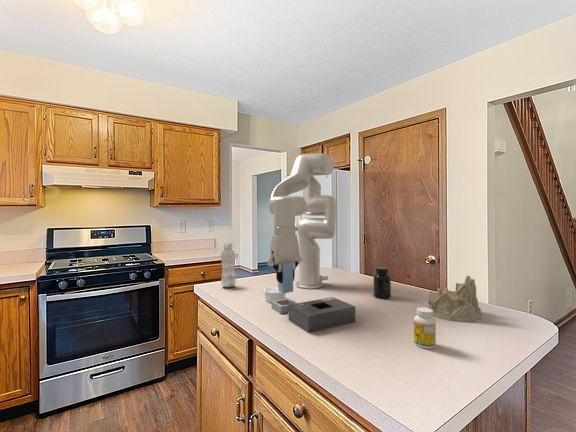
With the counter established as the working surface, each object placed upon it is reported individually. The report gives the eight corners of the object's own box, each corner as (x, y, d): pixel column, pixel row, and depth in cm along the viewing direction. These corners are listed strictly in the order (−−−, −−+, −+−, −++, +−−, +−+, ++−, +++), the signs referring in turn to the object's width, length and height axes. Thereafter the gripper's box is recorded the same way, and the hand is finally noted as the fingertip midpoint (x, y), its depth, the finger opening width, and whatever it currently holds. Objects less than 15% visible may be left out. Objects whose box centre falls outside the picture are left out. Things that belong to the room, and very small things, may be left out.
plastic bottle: (234, 288, 142) (234, 244, 141) (219, 288, 142) (219, 244, 142) (237, 285, 148) (236, 243, 148) (222, 285, 149) (222, 243, 148)
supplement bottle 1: (388, 294, 132) (389, 266, 132) (392, 299, 125) (392, 269, 125) (372, 294, 133) (372, 266, 132) (374, 299, 126) (375, 269, 126)
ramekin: (283, 304, 120) (283, 293, 120) (261, 302, 122) (261, 291, 122) (288, 297, 129) (288, 287, 129) (267, 296, 131) (267, 286, 131)
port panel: (332, 310, 112) (332, 296, 112) (355, 321, 102) (355, 305, 101) (288, 319, 103) (288, 303, 103) (308, 332, 93) (308, 315, 93)
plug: (287, 288, 118) (287, 256, 117) (293, 291, 114) (292, 258, 113) (278, 290, 116) (277, 257, 115) (283, 293, 112) (282, 259, 111)
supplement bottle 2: (439, 349, 82) (439, 313, 82) (418, 349, 82) (418, 313, 82) (429, 340, 87) (430, 306, 87) (410, 340, 88) (411, 306, 87)
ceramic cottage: (486, 312, 110) (483, 270, 109) (473, 328, 98) (470, 279, 98) (439, 305, 120) (436, 266, 120) (422, 318, 109) (419, 275, 108)
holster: (288, 304, 119) (288, 298, 119) (298, 310, 113) (298, 303, 113) (271, 307, 116) (271, 301, 116) (280, 313, 109) (280, 306, 109)
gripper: (299, 228, 121) (299, 275, 122) (259, 231, 113) (260, 282, 114) (310, 230, 114) (310, 280, 115) (268, 234, 106) (269, 287, 107)
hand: (285, 280), depth 115 cm, fingers closed on plug, 4 cm apart
